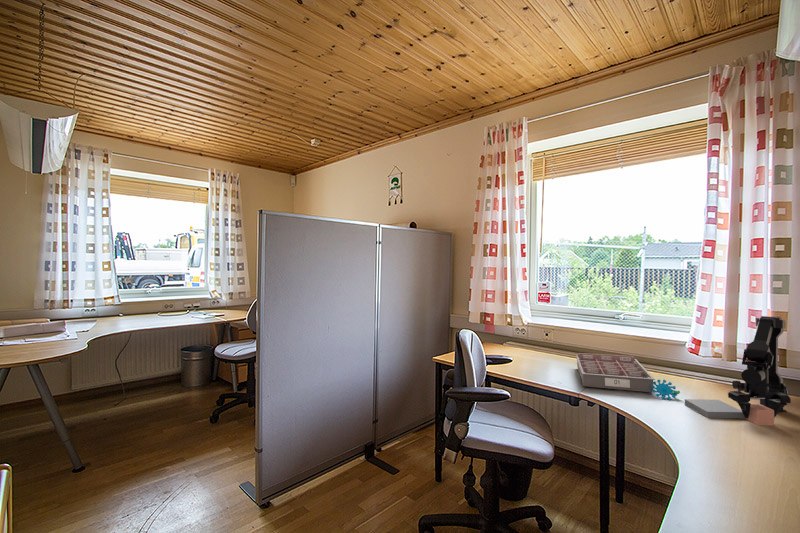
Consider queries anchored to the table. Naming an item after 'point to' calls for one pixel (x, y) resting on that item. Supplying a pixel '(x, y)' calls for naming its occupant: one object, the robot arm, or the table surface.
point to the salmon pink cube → (761, 415)
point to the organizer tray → (613, 372)
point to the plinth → (714, 408)
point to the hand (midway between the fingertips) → (759, 418)
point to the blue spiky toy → (664, 389)
